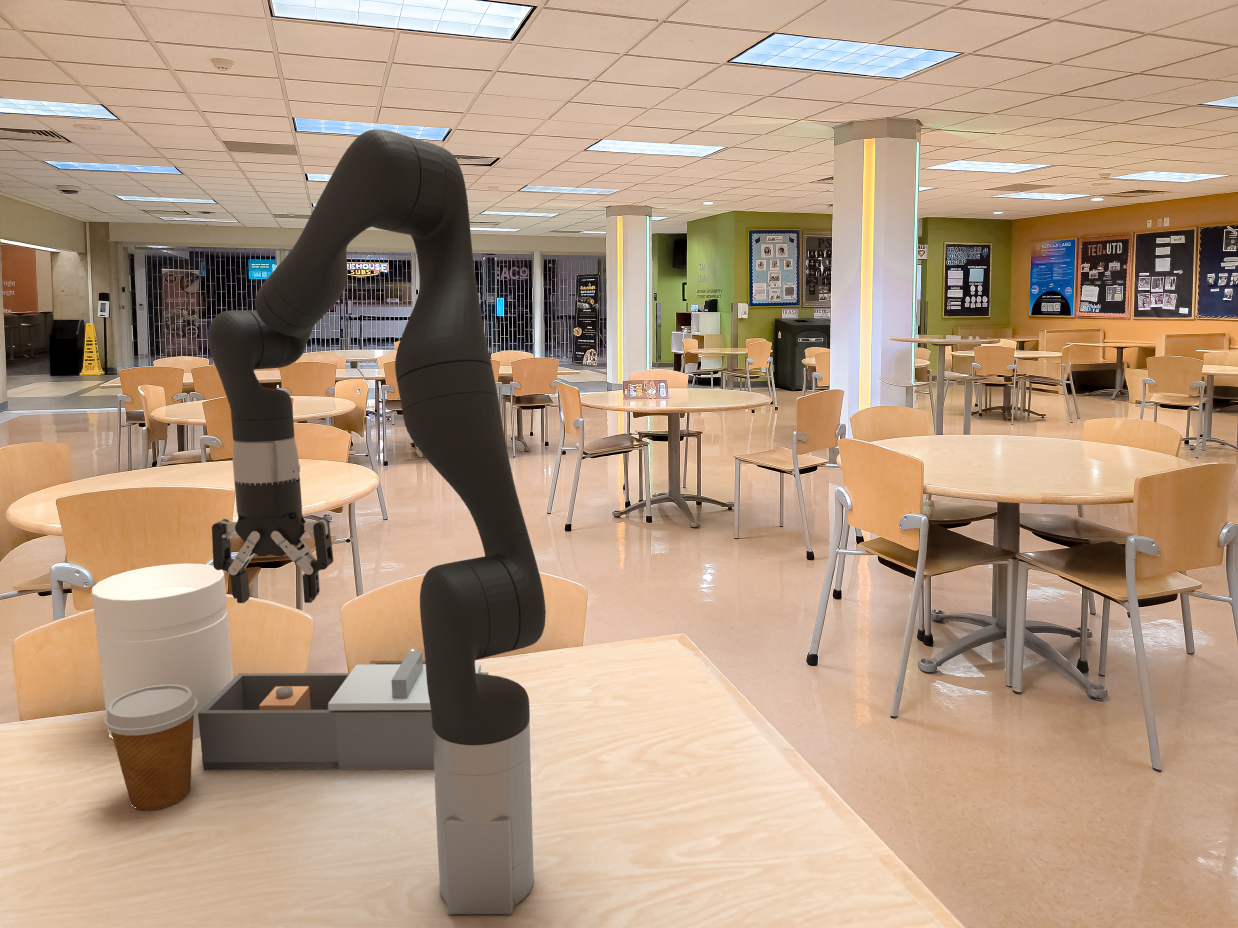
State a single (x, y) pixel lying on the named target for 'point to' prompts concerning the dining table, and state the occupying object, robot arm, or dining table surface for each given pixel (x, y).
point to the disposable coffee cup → (154, 743)
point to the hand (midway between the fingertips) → (277, 601)
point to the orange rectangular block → (287, 698)
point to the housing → (308, 729)
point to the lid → (386, 686)
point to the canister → (164, 631)
